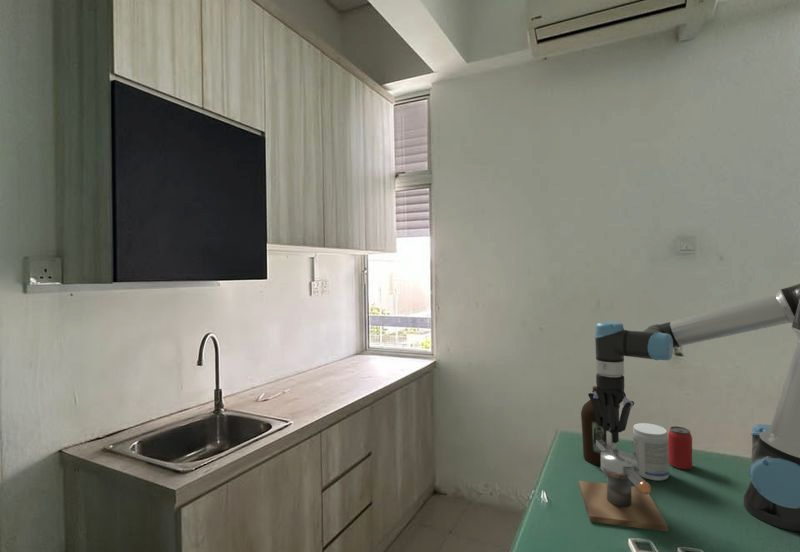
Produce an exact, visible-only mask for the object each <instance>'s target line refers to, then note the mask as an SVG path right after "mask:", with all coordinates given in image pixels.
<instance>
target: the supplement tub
mask: <svg viewBox="0 0 800 552" xmlns="http://www.w3.org/2000/svg"><path fill="white" fill-rule="evenodd" d="M632 446H633V447H632V448H633V452H632V453H633V455H634V456H635V457H636V458H637V473H638V475H639V476H640V477H642V478H643V479H646V480H651V481H664V480H667V479H668V478H669V476H670V472H669V471H670V470H669V465H670V464H669V459H668V430H667V429H666V427H665V428H664V427H663V426H661V425H658V424H653V423H649V422H647V423H645V422H643V423H642V422H641V423H636V424H633V429H632Z"/></svg>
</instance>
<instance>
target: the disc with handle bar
mask: <svg viewBox="0 0 800 552" xmlns="http://www.w3.org/2000/svg"><path fill="white" fill-rule="evenodd" d="M596 446H597V447H598V448H599V449H600V450H601V451H602V452H601V465H600V470H601V471H602V472H603V473H604V474H606V476H607V475H609V476H612V477H615V478H619V479H629V480H630V481H631V484H633V486H635V487H637V488H638V489H639V490H640V492H642V493H643V494H648V493H649V494H650V493H651V492H652V486H651V485H650V483H648V482H647V481H646V480H645V478H644V477H642V476H640V475H638V473H637V458H636V457H635V456H634V454H632V453H630V452H627V451H625V450H622V449H621V450H620V449H616V450H615V449H611V448H610V447H609V446H608V445H607V444H606V443H605V442H604V441H603V440H602V439H596Z"/></svg>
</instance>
